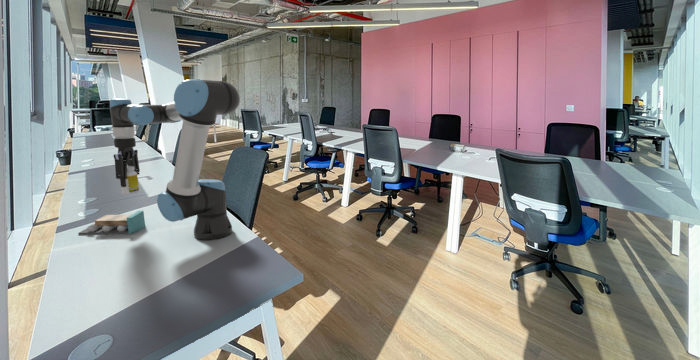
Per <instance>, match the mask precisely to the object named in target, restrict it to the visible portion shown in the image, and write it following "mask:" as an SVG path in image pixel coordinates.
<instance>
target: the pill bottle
mask: <svg viewBox="0 0 700 360" xmlns="http://www.w3.org/2000/svg"><path fill="white" fill-rule="evenodd" d="M134 169H135V168H134V166H128V165H127V177H126V179H128V184H129V193H130V194H129V195H132V194H137V193H139V192H140V187H139V177H138V175H137V172H135V171H134Z"/></svg>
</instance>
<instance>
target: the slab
mask: <svg viewBox="0 0 700 360" xmlns="http://www.w3.org/2000/svg"><path fill="white" fill-rule="evenodd" d="M131 215H132V214H105V215H103V216H101V217H99V218H97V219H95V220H94V223H95V225H128V224H127V217H129V216H131Z"/></svg>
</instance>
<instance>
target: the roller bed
mask: <svg viewBox="0 0 700 360" xmlns="http://www.w3.org/2000/svg"><path fill="white" fill-rule="evenodd" d="M130 215H131V216H129V217H127V224H128V225H95V222H94V223H92V224H90V225H89V226H87V227H86V228H84V229H83V230H82V231H80V232H78V233H77V234H78V236H79V235H83V236H84V235H87V236H89V235H134V234H136V233H137V232H139V231H140V230H141V229H143V228H145V226H146V222H145V213H144V210H137V211H136V212H134V213H131V214H130Z"/></svg>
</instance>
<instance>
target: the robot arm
mask: <svg viewBox="0 0 700 360" xmlns="http://www.w3.org/2000/svg"><path fill="white" fill-rule="evenodd" d="M240 100H241V97H240V93H239V91H238V89H237V88H236V87H235V86H234V85H233V84H231V83H230V82H227V81H223V80H211V79H200V78H194V79H185V80H183V81H182V82H180V83H179V84H177V87H176V88H175V90H174V94H173V102H169V103H166V104H133V103H132V100H131V99H129V98H111V99H110V100H109V113H110V118H111V119H110V120H111V127H112V136H113V137H114V138H113V145H114V147H115V148H117V153H114V154H113V158H114V159H113V160H114V167H115V169H114V170H115V178H116V179H117V180H119V181H120V190H121V195H131V194H130V193H129V184H128V179H126V177H127V166H134V168H135V169H134V171H135V172H137V176H139V175H140V164H139V157H138V154H139V153H138V149H134V148H135V147H136V146H137V145H136V144H137V143H136V138H135V136H136V132H135V125H137V126H147V125H151V124H152V125H153V124H166V123H167V124H169V123H170V124H173V123H175V124H176V123H179V122H181V121H182V126H181V131H180V136H179V142H178V147H177V148H178V149H177V155H176V159H175V165H174V170H173V175H172V179H171V180H169V181H168V182H167V184H166V189H165V191H161V192H160V193H158V195H157V197H156V205H157V208H158V210H159V213H161V215H162V217H163V218H164V219H165V220H167V221H169V222H172V223H174V222H178V221H183V220H186V219H189V218H192V217H195V216H196V221H195V224H194V229H193V237H194V238H195V239H199V240H203V241H206V240H207V241H210V240H211V239H213V240H218V239H217V238H219V239H222V237H223V238H226V237H228V236H230V235H232V233H233V226H232V223H231V221H230V219H229V217H228V212H227V195H226V194H227V193H226V187H225V182H224V181H222V180H219V179H211V178H210V179H209V178H206V179H205V178H202V179H201V178H200V174H201V170H202V166H203V160H204V157H205V151H206V146H207V142H208V136H209V132H210V127H213V126H215V124H216V121H217V117H218V116H221V115H222V116H223V115H228V114H232V113H234V112H235V111H236V110H237V109H238V108H239V106H240ZM199 178H200V179H199ZM229 234H230V235H229ZM227 235H228V236H227ZM225 236H226V237H225Z"/></svg>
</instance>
